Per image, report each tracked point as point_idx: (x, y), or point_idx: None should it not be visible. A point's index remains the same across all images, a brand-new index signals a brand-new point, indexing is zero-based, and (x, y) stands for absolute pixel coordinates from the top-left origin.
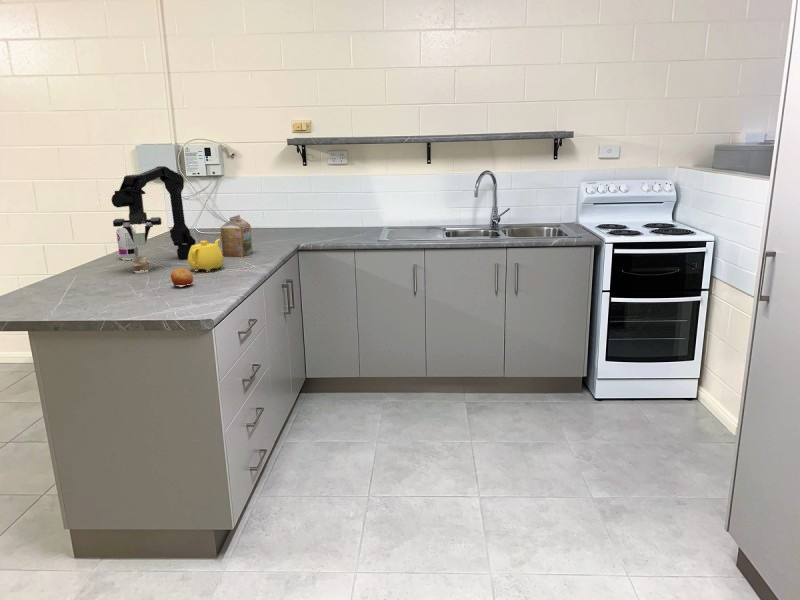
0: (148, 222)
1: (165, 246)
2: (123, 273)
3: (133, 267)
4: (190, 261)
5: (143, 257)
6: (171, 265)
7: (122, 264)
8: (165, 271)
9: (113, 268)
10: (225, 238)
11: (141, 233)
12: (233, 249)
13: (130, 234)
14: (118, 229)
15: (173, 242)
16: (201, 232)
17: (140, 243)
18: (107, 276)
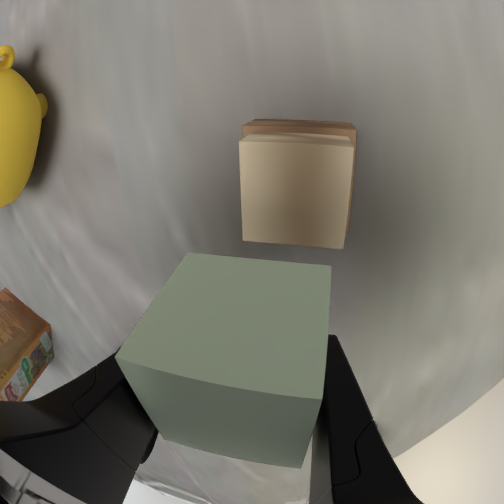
0: (9, 499)
1: (249, 479)
2: (411, 165)
3: (349, 127)
4: (8, 86)
5: (261, 192)
6: (162, 273)
7: (385, 378)
8: (158, 123)
9: (437, 322)
10: (4, 356)
11: (196, 437)
12: (9, 318)
13: (361, 428)
14: None
15: (157, 430)
16: (204, 500)
17: (238, 270)
18: (490, 123)
